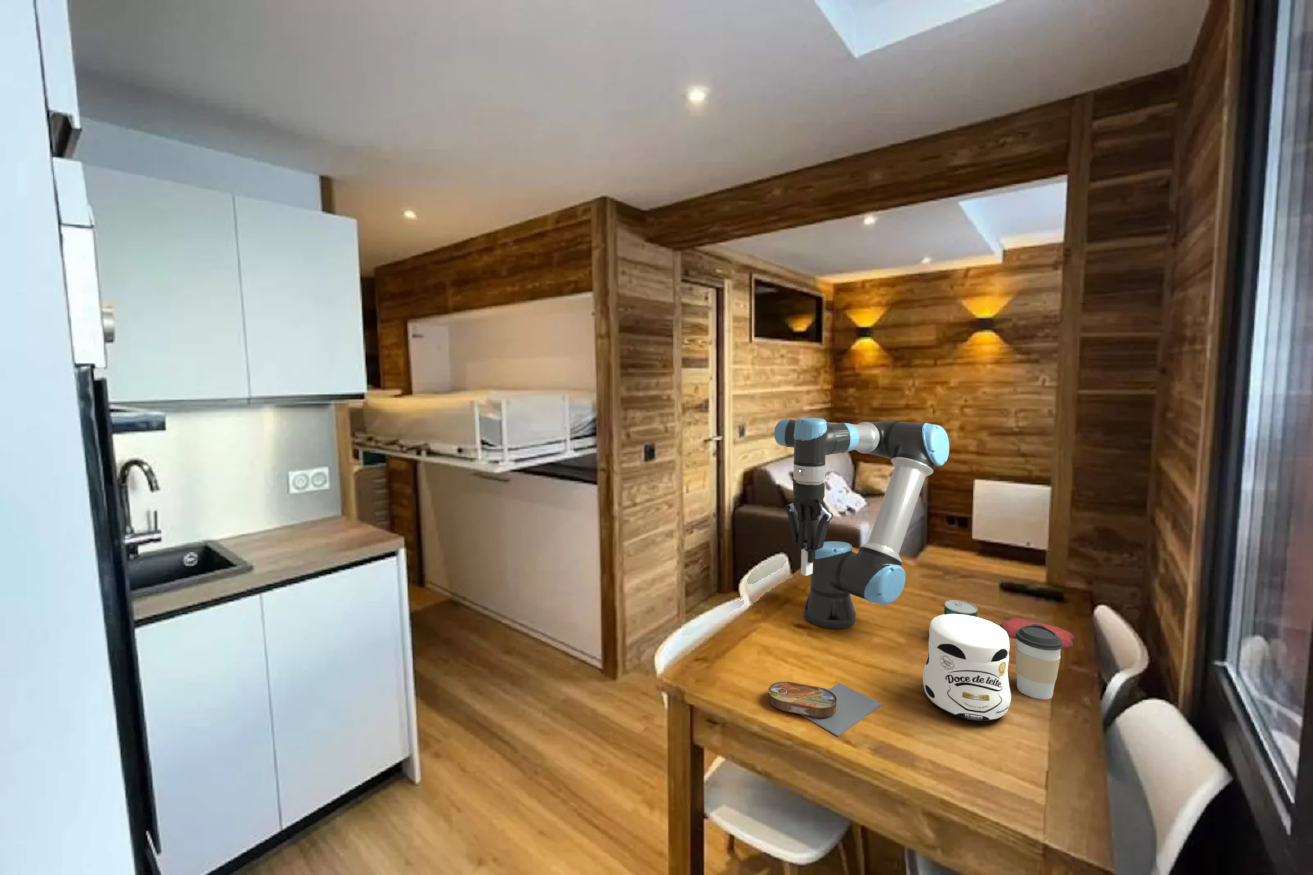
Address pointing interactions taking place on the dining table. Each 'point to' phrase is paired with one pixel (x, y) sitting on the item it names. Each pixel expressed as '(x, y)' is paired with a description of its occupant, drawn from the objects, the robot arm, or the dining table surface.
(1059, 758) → the dining table surface
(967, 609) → the canned tomato
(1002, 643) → the doce de leite jar
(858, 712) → the slate board
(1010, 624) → the red flat irregular piece
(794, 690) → the tin
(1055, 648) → the coffee cup
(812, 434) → the robot arm
